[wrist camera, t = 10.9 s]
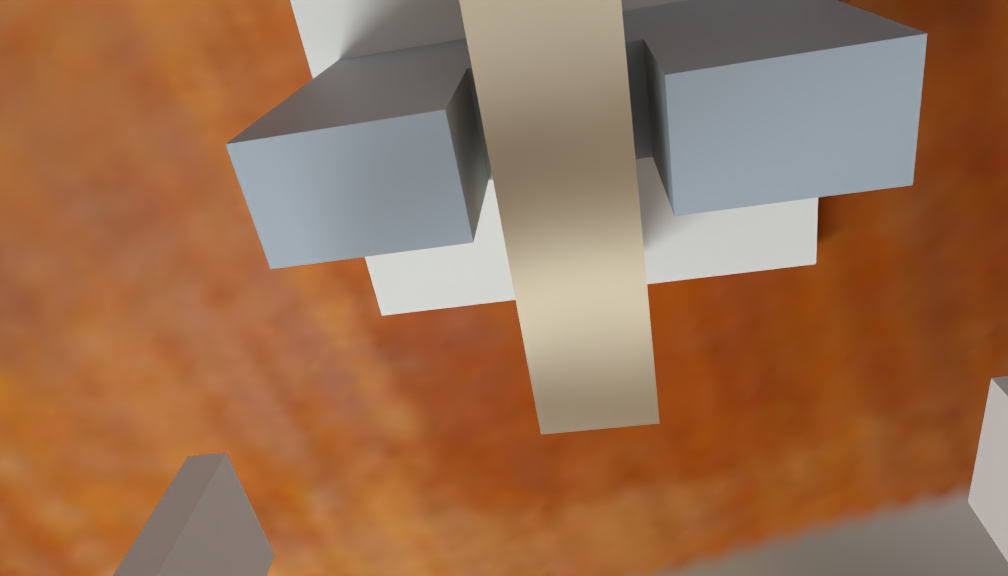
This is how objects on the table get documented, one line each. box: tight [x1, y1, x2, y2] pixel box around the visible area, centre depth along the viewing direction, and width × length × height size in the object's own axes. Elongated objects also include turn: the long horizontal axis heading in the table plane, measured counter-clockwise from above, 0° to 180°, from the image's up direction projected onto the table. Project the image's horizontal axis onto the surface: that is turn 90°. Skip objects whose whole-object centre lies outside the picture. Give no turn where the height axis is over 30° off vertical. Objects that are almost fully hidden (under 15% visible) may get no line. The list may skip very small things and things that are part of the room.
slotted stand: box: [226, 0, 927, 316], centre depth 19 cm, size 16×16×10 cm
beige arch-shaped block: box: [459, 0, 659, 434], centre depth 19 cm, size 14×3×9 cm, turn 10°
